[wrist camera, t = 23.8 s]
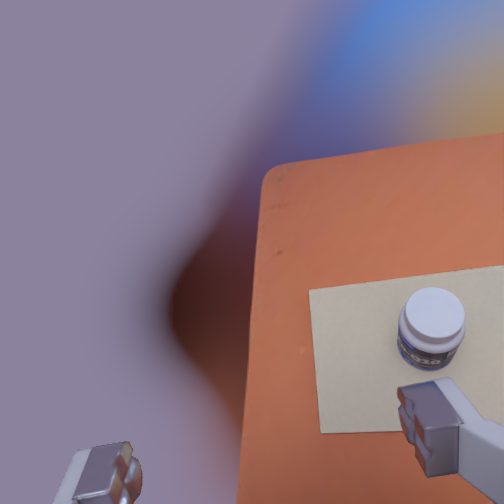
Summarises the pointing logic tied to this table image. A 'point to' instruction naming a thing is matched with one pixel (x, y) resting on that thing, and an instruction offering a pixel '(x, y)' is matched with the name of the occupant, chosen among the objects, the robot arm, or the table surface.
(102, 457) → the robot arm
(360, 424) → the cream mat
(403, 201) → the table surface
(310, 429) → the table surface
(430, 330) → the pill bottle
